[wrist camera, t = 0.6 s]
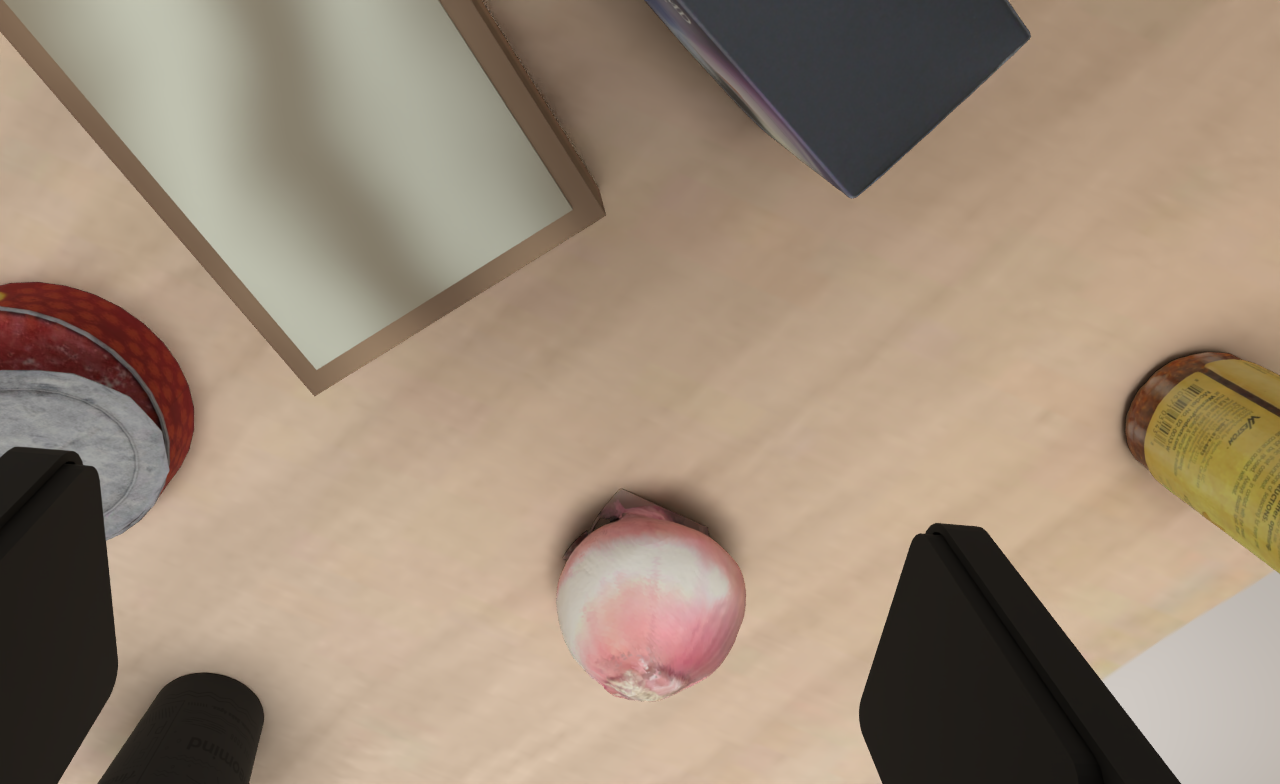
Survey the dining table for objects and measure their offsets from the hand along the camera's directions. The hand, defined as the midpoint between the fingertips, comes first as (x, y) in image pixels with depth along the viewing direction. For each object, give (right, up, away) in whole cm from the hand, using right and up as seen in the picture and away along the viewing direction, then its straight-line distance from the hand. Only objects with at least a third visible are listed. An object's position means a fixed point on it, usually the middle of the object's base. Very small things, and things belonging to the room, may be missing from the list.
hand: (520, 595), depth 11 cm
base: (-9, +13, +21) cm, 26 cm away
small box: (+5, +17, +21) cm, 27 cm away
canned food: (-21, +2, +25) cm, 33 cm away
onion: (+2, -5, +31) cm, 31 cm away
